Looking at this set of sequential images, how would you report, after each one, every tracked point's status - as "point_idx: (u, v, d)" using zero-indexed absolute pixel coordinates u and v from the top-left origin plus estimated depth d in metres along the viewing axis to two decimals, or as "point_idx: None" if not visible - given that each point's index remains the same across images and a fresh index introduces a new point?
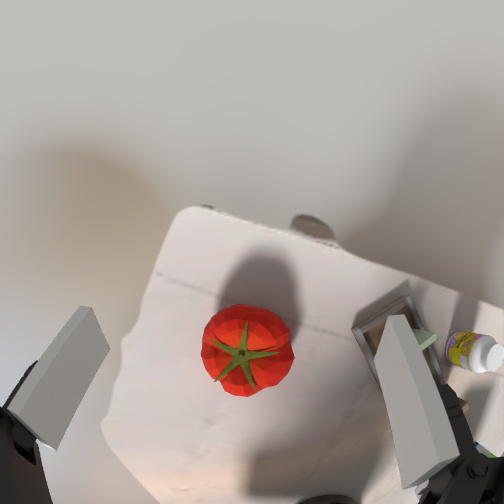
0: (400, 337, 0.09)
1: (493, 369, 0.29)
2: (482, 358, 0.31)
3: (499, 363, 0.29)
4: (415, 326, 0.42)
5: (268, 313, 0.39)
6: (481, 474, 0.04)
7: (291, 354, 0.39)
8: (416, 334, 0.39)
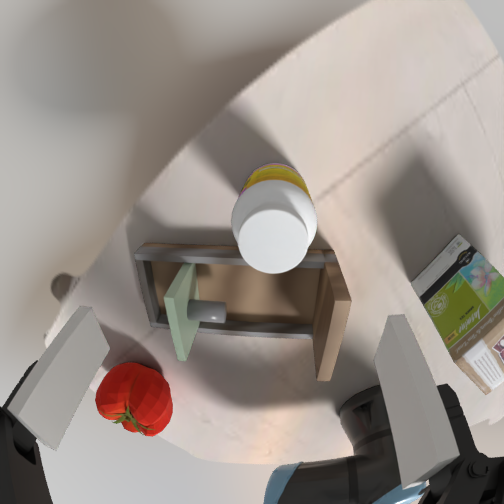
0: (400, 337, 0.09)
1: (296, 260, 0.19)
2: None
3: (298, 238, 0.18)
4: None
5: (103, 385, 0.37)
6: (481, 474, 0.04)
7: (143, 388, 0.38)
8: None
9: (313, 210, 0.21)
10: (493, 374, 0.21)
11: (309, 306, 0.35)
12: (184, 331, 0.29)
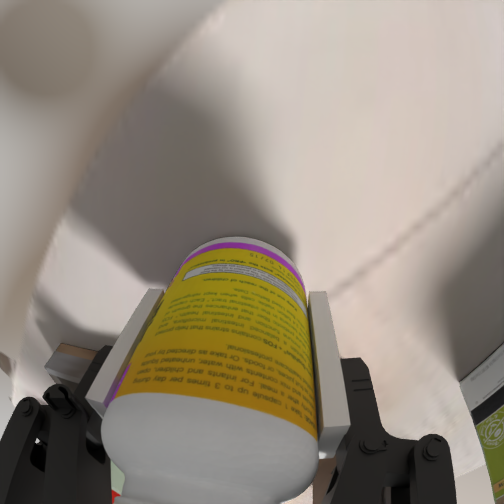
0: (314, 310, 0.11)
1: None
2: None
3: None
4: None
5: None
6: (379, 449, 0.06)
7: None
8: None
9: (308, 467, 0.05)
10: None
11: None
12: (124, 479, 0.14)
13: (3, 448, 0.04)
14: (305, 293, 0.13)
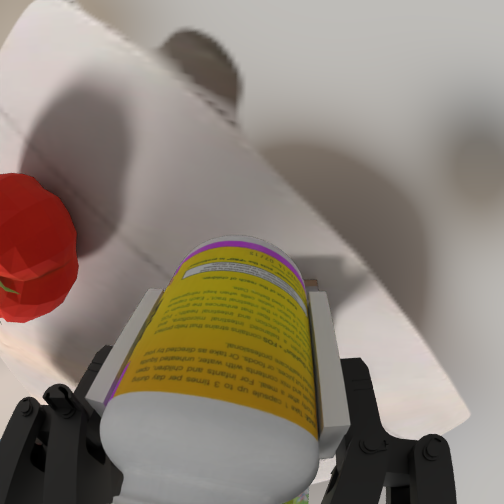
0: (313, 310, 0.11)
1: None
2: None
3: None
4: None
5: (19, 218, 0.15)
6: (379, 449, 0.06)
7: (56, 290, 0.20)
8: None
9: (309, 466, 0.05)
10: None
11: None
12: None
13: (3, 448, 0.04)
14: (305, 292, 0.13)
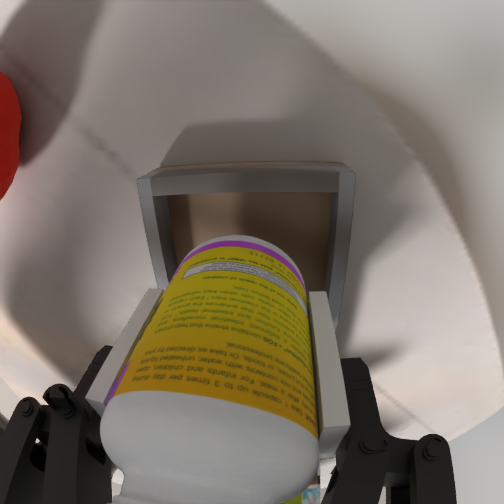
0: (314, 310, 0.11)
1: None
2: None
3: None
4: (327, 263, 0.17)
5: None
6: (379, 449, 0.06)
7: None
8: None
9: (309, 466, 0.05)
10: None
11: None
12: None
13: (3, 448, 0.04)
14: (305, 292, 0.13)
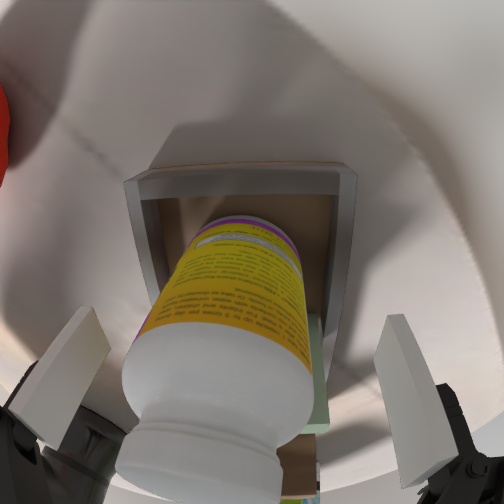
0: (398, 337, 0.09)
1: None
2: None
3: (254, 501, 0.05)
4: (327, 270, 0.16)
5: None
6: (480, 474, 0.04)
7: None
8: None
9: (304, 394, 0.07)
10: None
11: None
12: None
13: None
14: (300, 264, 0.15)
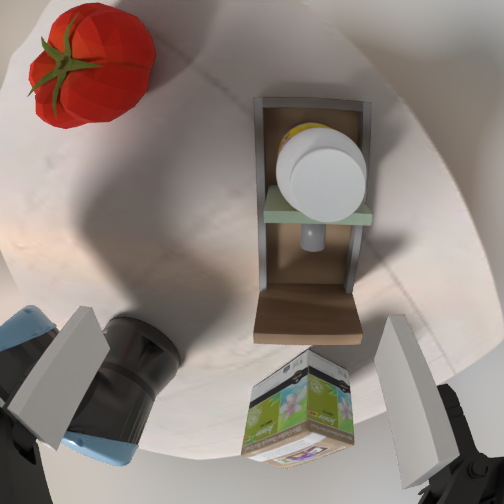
0: (400, 337, 0.09)
1: (353, 206, 0.17)
2: None
3: (356, 181, 0.16)
4: None
5: (123, 15, 0.16)
6: (481, 474, 0.04)
7: (132, 83, 0.20)
8: None
9: (363, 158, 0.18)
10: (274, 454, 0.34)
11: (291, 278, 0.35)
12: None
13: None
14: None
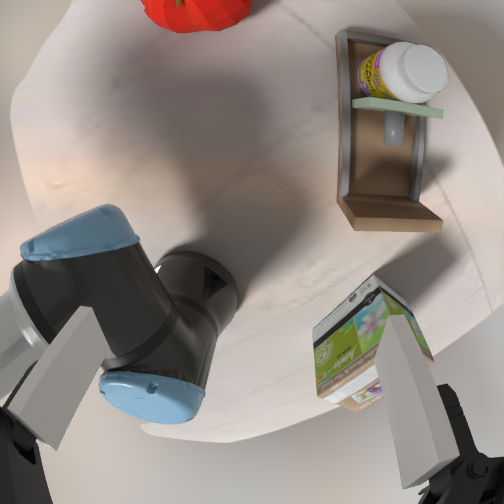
0: (400, 337, 0.09)
1: (442, 84, 0.17)
2: (412, 87, 0.19)
3: (442, 67, 0.16)
4: None
5: None
6: (481, 474, 0.04)
7: None
8: None
9: None
10: (356, 385, 0.33)
11: (365, 189, 0.35)
12: (396, 110, 0.24)
13: None
14: None
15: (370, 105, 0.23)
